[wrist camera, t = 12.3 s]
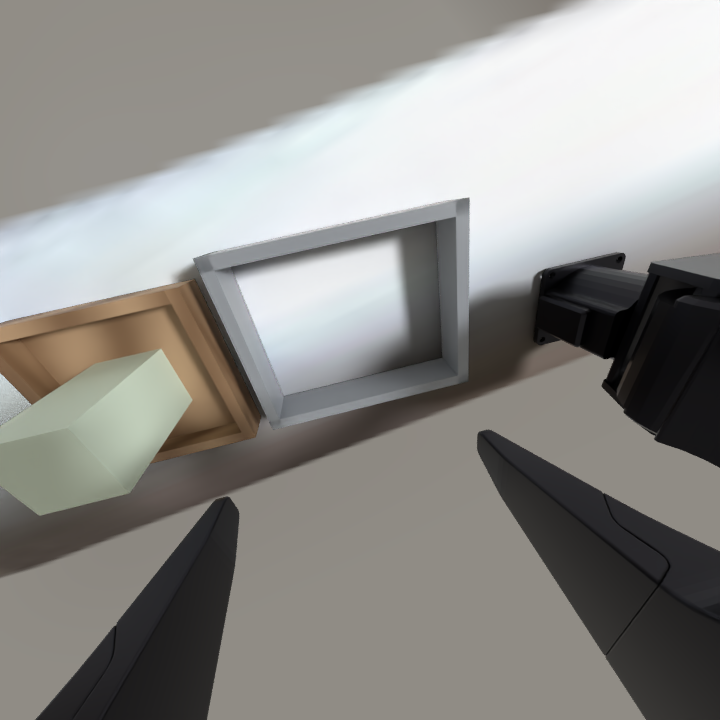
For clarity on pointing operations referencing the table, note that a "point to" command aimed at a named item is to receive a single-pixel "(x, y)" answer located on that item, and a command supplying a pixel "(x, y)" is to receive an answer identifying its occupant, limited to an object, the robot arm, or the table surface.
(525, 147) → the table surface
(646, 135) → the table surface
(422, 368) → the grey bin
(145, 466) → the sage block
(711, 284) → the robot arm
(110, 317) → the wooden tray
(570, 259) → the table surface
